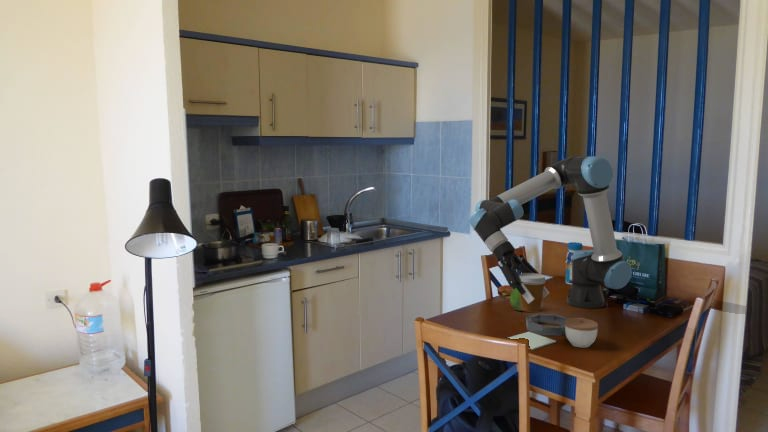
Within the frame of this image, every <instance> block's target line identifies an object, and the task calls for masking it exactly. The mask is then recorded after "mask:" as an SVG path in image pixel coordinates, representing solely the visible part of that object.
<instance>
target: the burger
mask: <svg viewBox="0 0 768 432" xmlns="http://www.w3.org/2000/svg"><path fill="white" fill-rule="evenodd" d="M512 290H513V288H512V287H510V286H509V284H506V285H505V284H504V285H501V286H499V287H498V288H497V295H498V296H499V297H501V298H503V299H505V300H510V295H511V292H512Z"/></svg>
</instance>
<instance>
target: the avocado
mask: <svg viewBox="0 0 768 432" xmlns="http://www.w3.org/2000/svg"><path fill="white" fill-rule="evenodd" d="M509 304H510V306H511V307H512V308H513V309H514V310H516V311H519V312H520V311H521V312H522V311H523V310H521V302H520V292H519V291H518V290H517V288H515V289H513V290H512V292H511V295H510V299H509ZM523 312H524V311H523Z"/></svg>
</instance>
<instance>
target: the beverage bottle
mask: <svg viewBox="0 0 768 432" xmlns="http://www.w3.org/2000/svg"><path fill="white" fill-rule="evenodd" d="M567 250H568V251H567V253H566V256H565V259H566V260H565V278H564V279H565V281H564V282H565V284H567V285H570V286H572V259H573V253H574V252H576V251H582V250H583V243H582V242H578V241H577V242H576V241H574V242H573V241H571V242H568V243H567Z"/></svg>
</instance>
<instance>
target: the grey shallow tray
mask: <svg viewBox="0 0 768 432" xmlns="http://www.w3.org/2000/svg"><path fill="white" fill-rule="evenodd" d="M570 318H571V317H570ZM570 318H569V317H566V316H561V315H558V314H555V313H554V314H552V313H536V314H531V315H528V316H526V317H525V321H526V322H525V326H526V330H527V332H532V333H534V334H537V335H540V336H550V337H551V336H554V337H555V336H557V337H562V336H566V334H565V320H566V319H570ZM540 323H541V324H540ZM543 323H544V324H556V325H557V326H556V325H542V324H543ZM558 325H559V326H558Z"/></svg>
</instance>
